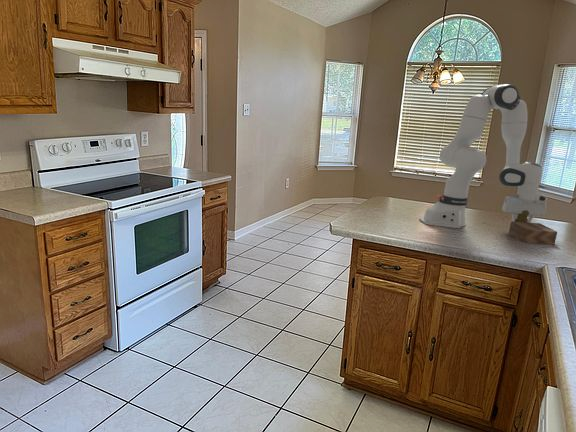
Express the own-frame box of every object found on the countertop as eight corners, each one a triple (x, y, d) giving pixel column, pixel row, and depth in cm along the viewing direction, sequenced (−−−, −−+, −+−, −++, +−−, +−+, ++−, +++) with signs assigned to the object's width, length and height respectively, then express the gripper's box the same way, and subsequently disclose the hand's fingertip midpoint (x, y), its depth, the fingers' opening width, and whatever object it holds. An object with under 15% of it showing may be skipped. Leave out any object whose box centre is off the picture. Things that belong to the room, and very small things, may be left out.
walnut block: (523, 242, 191) (526, 229, 190) (508, 233, 205) (511, 221, 203) (554, 244, 192) (557, 231, 190) (537, 235, 205) (539, 223, 204)
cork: (527, 232, 208) (532, 211, 206) (514, 231, 209) (519, 209, 207) (523, 229, 214) (528, 208, 211) (511, 227, 215) (515, 206, 212)
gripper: (509, 195, 204) (503, 222, 208) (551, 198, 204) (544, 225, 208) (502, 192, 210) (497, 219, 214) (543, 195, 210) (537, 221, 214)
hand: (520, 222), depth 211 cm, fingers open, 5 cm apart
